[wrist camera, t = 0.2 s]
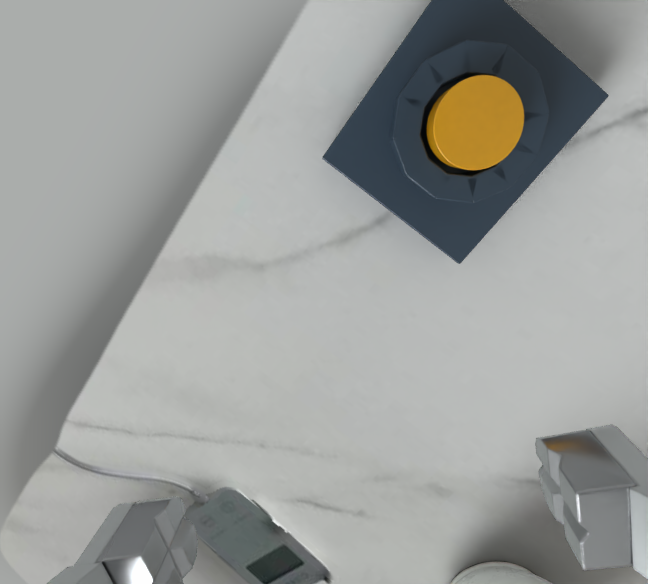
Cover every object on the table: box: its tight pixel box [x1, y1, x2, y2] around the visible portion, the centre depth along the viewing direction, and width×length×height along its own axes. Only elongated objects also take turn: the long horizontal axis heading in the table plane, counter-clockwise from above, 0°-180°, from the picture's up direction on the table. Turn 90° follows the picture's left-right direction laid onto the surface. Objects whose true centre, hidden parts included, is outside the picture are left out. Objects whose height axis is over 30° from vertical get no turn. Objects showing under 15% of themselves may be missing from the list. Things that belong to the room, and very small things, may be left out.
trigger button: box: [427, 75, 524, 170], centre depth 18 cm, size 4×4×2 cm
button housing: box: [323, 0, 608, 264], centre depth 20 cm, size 10×9×4 cm
